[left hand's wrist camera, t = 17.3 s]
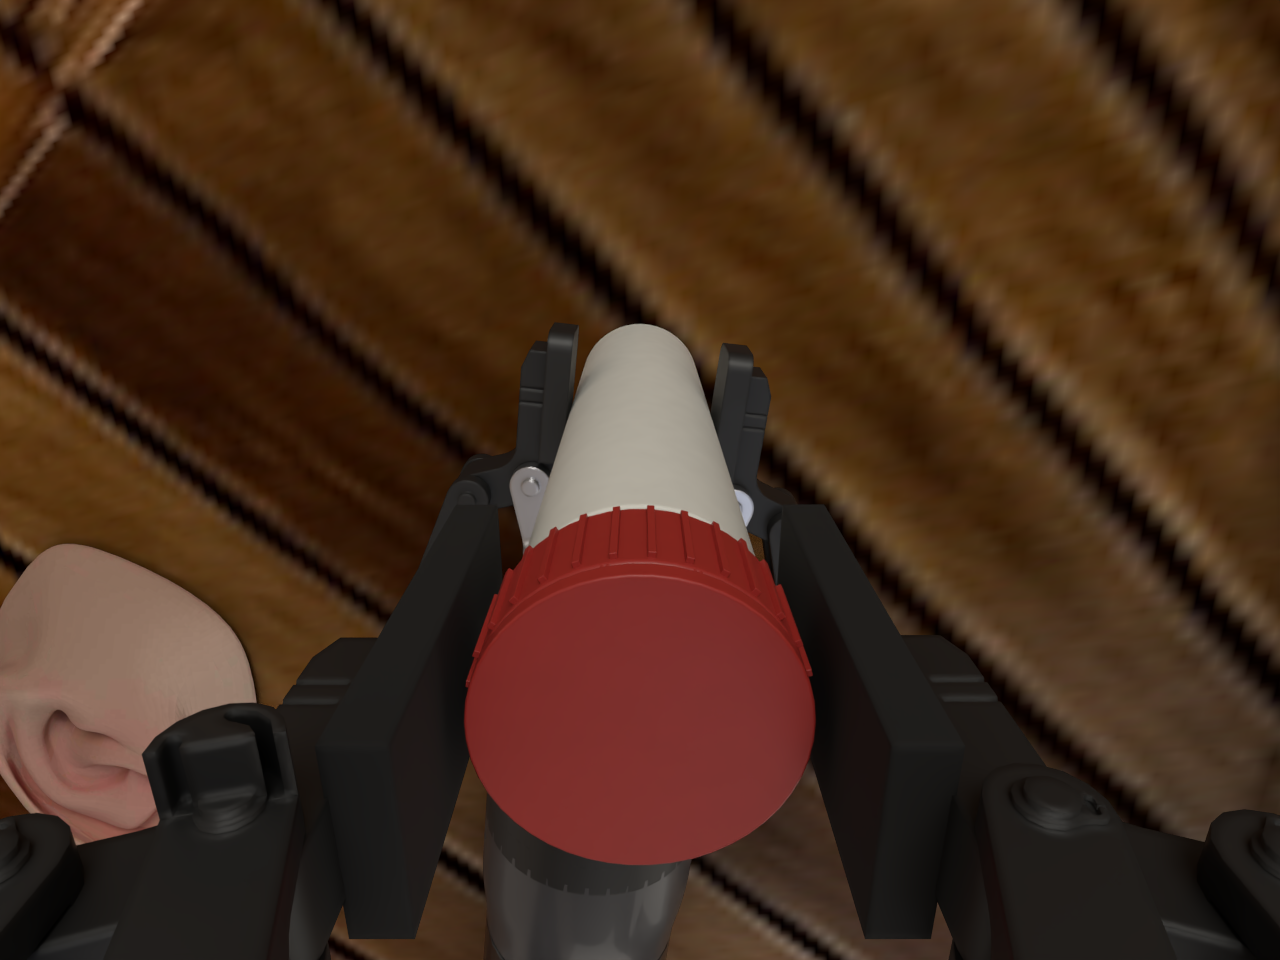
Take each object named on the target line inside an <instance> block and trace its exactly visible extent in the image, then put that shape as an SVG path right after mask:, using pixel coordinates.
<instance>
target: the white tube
mask: <svg viewBox="0 0 1280 960" xmlns="http://www.w3.org/2000/svg"><path fill="white" fill-rule="evenodd" d="M647 505H654V507H655V510H662V511H670V512H675V513H679V514H680V512H681V510H684V511H688V515H689V516H691V517H693V518H696V519H699V520H701V521H704V522H706V523H709V524H711V523H712V522H713V521H714V522H716V523H718V524H719V526H720V530H722V531H724V532H726V533H727V534H729V535H730V536H732V537H733V538H734V539H736V540H737V541H738V540H739V539H740V538H742V539H743V540H745V541H746V543H747V546H748V550H749V551H750V552H751V553H752V554H753V555H754V556H755V554H754V551H753V548H752V545H751V542H750V538H749V535H748V532H747V529H746V526H745V523H744V519H743V516H742V513H741V510H740V507H739V503H738V500H737V497H736V494H735V491H734V488H733V484H732V481H731V478H730V475H729V472H728V468H727V465H726V462H725V459H724V456H723V453H722V449H721V446H720V443H719V440H718V437H717V434H716V430H715V427H714V424H713V421H712V418H711V414H710V411H709V408H708V405H707V402H706V399H705V395H704V392H703V389H702V386H701V383H700V380H699V376H698V373H697V370H696V367H695V364H694V361H693V358H692V356H691V354H690V352H689V351H688V349H687V348H686V346H685V345H684V344H683V343H682V342H681V341H680V340H679V339H678V338H677V337H676V336H674V335H673V334H672V333H670V332H668V331H666V330H664V329H662V328H659V327H657V326H653V325H647V324H633V325H627V326H623V327H620V328H618V329H615V330H613V331H611V332H610V333H608V334H607V335H605V336H604V337H603V338H602V339H601V340H599V342H598V343H597V344H596V345H595V346H594V348H593V349H592V350H591V352H590V354H589V356H588V358H587V360H586V363H585V366H584V369H583V373H582V376H581V379H580V382H579V385H578V388H577V392H576V395H575V398H574V401H573V404H572V407H571V411H570V414H569V417H568V420H567V423H566V426H565V430H564V433H563V436H562V439H561V442H560V446H559V449H558V452H557V455H556V458H555V461H554V465H553V468H552V471H551V474H550V477H549V480H548V484H547V487H546V490H545V493H544V496H543V500H542V503H541V506H540V509H539V512H538V515H537V519H536V522H535V525H534V528H533V531H532V534H531V538H530V541H529V544H528V546H529V545H530V546H531V547H532V548H534V547H535V546H536V545H537V544H538V543H540V542H541V541H543V540H544V539H545V538H547V537H548V536H549V533H550V530H551V529H552V528H554V527H557V529H558V530H560V529H561V528H563V527H565V526H567V525H569V524H571V523H573V522H576V521H579V518H580V515H583V514H585V513H587V515H588V517H589V516H593V515H597V514H601V513H605V512H609V511H613V507H617V506H620V509H621V510H626V509H647Z"/></svg>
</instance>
